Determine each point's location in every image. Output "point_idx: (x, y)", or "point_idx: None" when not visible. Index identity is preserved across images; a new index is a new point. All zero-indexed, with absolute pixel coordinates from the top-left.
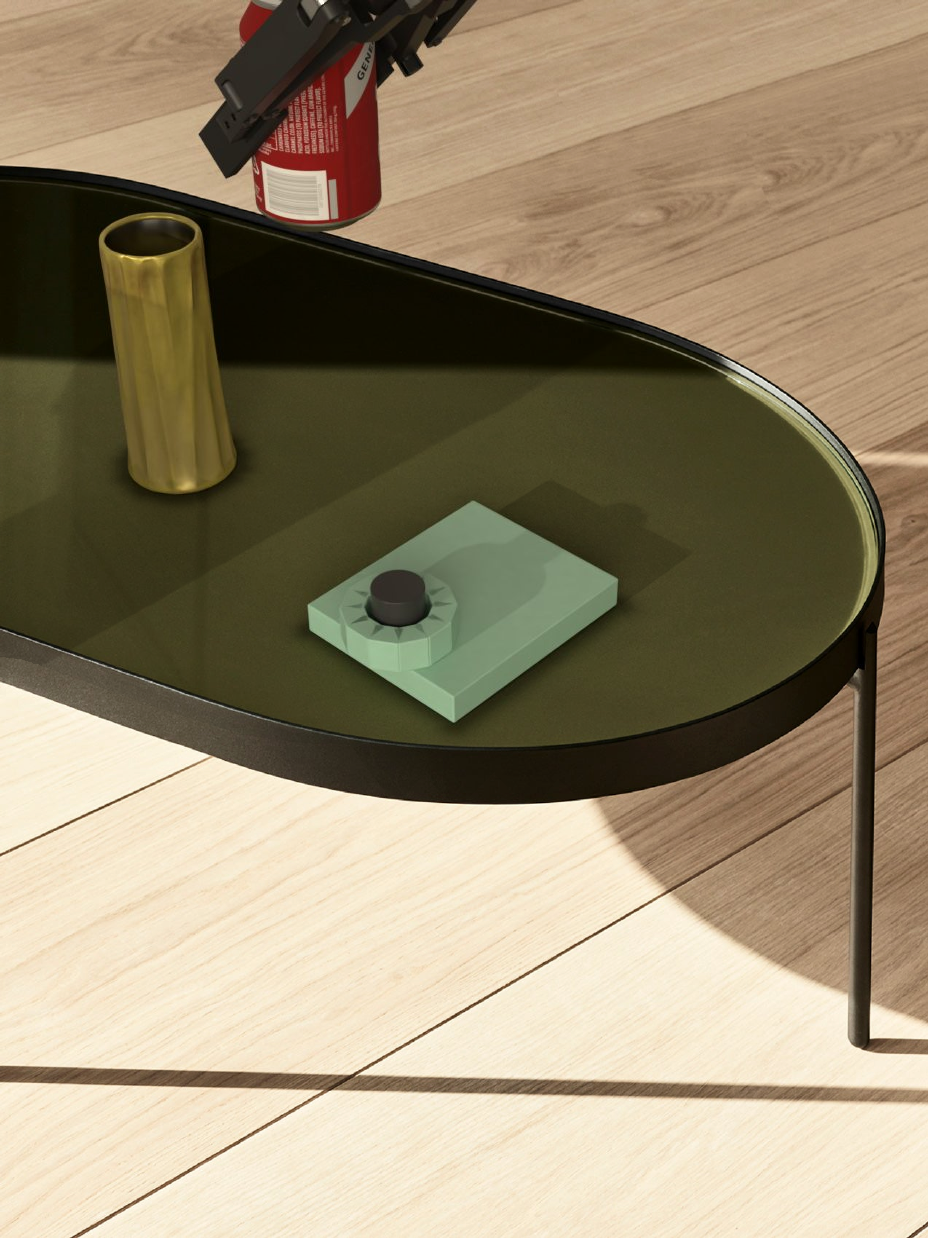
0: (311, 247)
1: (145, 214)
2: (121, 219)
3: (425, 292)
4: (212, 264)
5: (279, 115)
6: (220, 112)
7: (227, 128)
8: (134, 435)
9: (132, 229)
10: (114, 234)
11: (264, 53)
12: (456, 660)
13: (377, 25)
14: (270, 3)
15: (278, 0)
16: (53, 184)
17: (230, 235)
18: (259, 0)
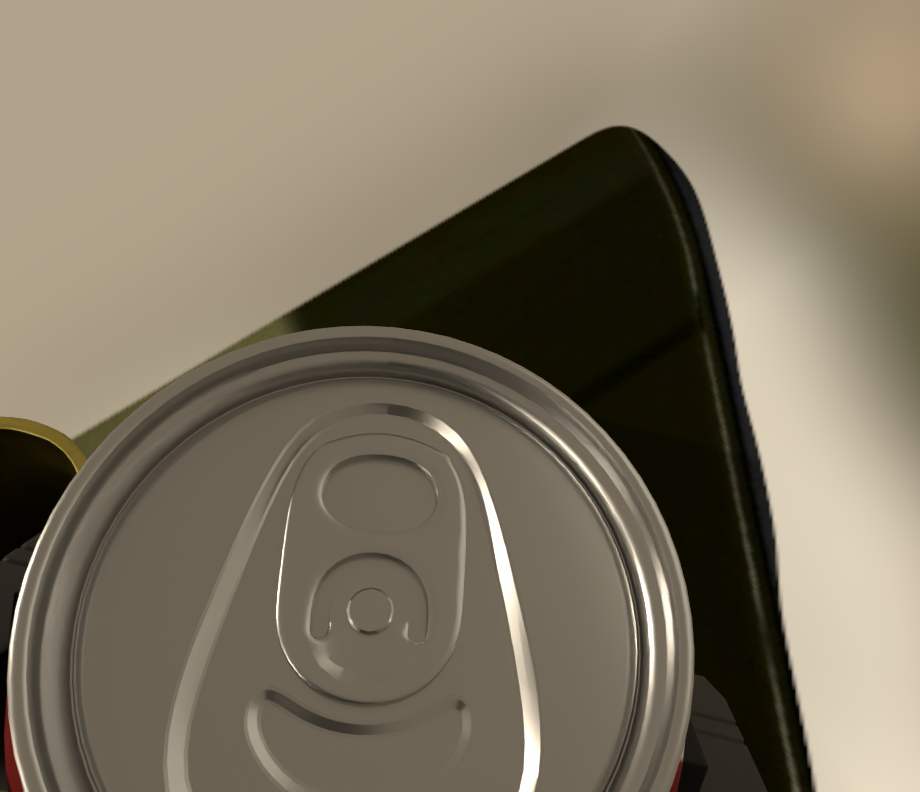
0: (729, 483)
1: (69, 455)
2: (30, 424)
3: (739, 713)
4: (610, 394)
5: (5, 784)
6: (23, 544)
7: None
8: None
9: (55, 448)
10: (8, 433)
11: None
12: None
13: None
14: (27, 574)
15: (238, 526)
16: (646, 151)
17: (684, 374)
18: (70, 488)
